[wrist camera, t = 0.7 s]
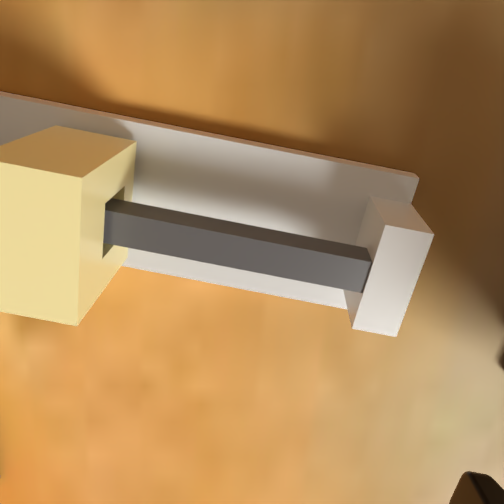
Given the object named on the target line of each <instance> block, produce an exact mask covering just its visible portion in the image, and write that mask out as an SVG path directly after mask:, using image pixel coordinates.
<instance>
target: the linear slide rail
mask: <svg viewBox="0 0 504 504" xmlns="http://www.w3.org/2000/svg"><path fill="white" fill-rule="evenodd" d="M55 125H57V126H62V127H68V128H73V129H78V130H83V131H88V132H93V133H98V134H103V135H108V136H113V137H118V138H123V139H128V140H134V141H137V145H136V157H135V170H134V183H133V195H132V202H129V201H124V200H119V199H114V198H111V199H110V200H109V201H107V202H106V203H105V218H104V236H103V243H106V244H111V245H116V246H122V247H127V248H128V258H127V259H126V260H125V262H124V263H123V264H122V266H126V267H131V268H136V269H141V270H146V271H151V272H157V273H162V274H167V275H172V276H177V277H182V278H188V279H193V280H198V281H203V282H208V283H214V284H219V285H224V286H229V287H234V288H239V289H245V290H250V291H255V292H260V293H265V294H270V295H276V296H281V297H286V298H291V299H296V300H301V301H307V302H312V303H317V304H322V305H327V306H333V307H338V308H343V309H348V313H349V318H350V322H351V326H352V329H357V330H362V331H368V332H373V333H378V334H383V335H388V336H394V337H396V336H397V333H398V331H399V328H400V325H401V323H402V320H403V317H404V315H405V312H406V309H407V307H408V304H409V301H410V299H411V296H412V293H413V291H414V288H415V285H416V283H417V280H418V277H419V275H420V272H421V269H422V267H423V264H424V261H425V259H426V256H427V253H428V250H429V248H430V245H431V242H432V240H433V237H434V233H433V232H432V231H431V229H430V228H429V227H428V225H427V224H426V223H425V221H424V220H423V219H422V217H421V216H420V215H419V214H418V212H417V211H416V210H415V208H414V207H413V206H412V204H411V203H412V200H413V197H414V194H415V191H416V188H417V185H418V182H419V179H420V178H419V177H418V176H417V175H416V174H415V173H411V172H406V171H401V170H396V169H391V168H386V167H381V166H376V165H371V164H366V163H361V162H356V161H351V160H346V159H341V158H336V157H331V156H326V155H320V154H315V153H310V152H305V151H300V150H295V149H290V148H285V147H280V146H275V145H270V144H265V143H260V142H255V141H250V140H245V139H240V138H235V137H229V136H224V135H219V134H214V133H209V132H204V131H199V130H194V129H189V128H184V127H179V126H174V125H169V124H164V123H159V122H154V121H149V120H144V119H139V118H133V117H128V116H123V115H118V114H113V113H108V112H103V111H98V110H93V109H88V108H83V107H78V106H73V105H68V104H63V103H58V102H53V101H48V100H42V99H37V98H32V97H27V96H22V95H17V94H12V93H7V92H2V91H0V146H1V145H3V144H6V143H9V142H12V141H14V140H17V139H20V138H23V137H25V136H28V135H31V134H33V133H36V132H39V131H42V130H44V129H47V128H50V127H52V126H55Z"/></svg>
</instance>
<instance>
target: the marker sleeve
mask: <svg viewBox="0 0 504 504" xmlns="http://www.w3.org/2000/svg"><path fill="white" fill-rule="evenodd" d="M136 145H137V141H134V140H128V139H123V138H118V137H113V136H108V135H103V134H98V133H93V132H88V131H83V130H78V129H73V128H68V127H62V126H57V125H55V126H52V127H50V128H47V129H44V130H42V131H39V132H36V133H33V134H31V135H28V136H25V137H23V138H20V139H17V140H14V141H12V142H9V143H6V144H3V145H1V146H0V312H5V313H11V314H16V315H21V316H26V317H31V318H37V319H42V320H47V321H52V322H58V323H63V324H68V325H73V326H78V324H79V323H80V322H81V320H82V319H83V318H84V316H85V315H86V313H87V312H88V311H89V309H90V308H91V307H92V305H93V304H94V303H95V301H96V300H97V298H98V297H99V296H100V294H101V293H102V292H103V290H104V289H105V288H106V286H107V285H108V283H109V282H110V281H111V279H112V278H113V277H114V275H115V274H116V273H117V271H118V270H119V268H120V267H121V266H122V264H123V263H124V262H125V260H126V259H127V258H128V248H127V247H122V246H116V245H111V244H106V243H103V236H104V218H105V203H106V202H107V201H109V200H110V199H111V198H114V199H119V200H124V201H129V202H132V195H133V183H134V170H135V157H136Z"/></svg>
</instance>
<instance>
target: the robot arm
mask: <svg viewBox="0 0 504 504" xmlns="http://www.w3.org/2000/svg"><path fill="white" fill-rule="evenodd" d="M449 504H504V490H503V489H502V488H501V486H500V485H499V484H498V483H497V482H496V481H495V480H494V479H493V478H491V477H490V476H489V475H486V474H481V473H476V472H470V471H467V472H465V473H464V474H463V475H462V476H461V478H460V480H459V483H458V485H457V487H456V489H455V491H454V493H453V495H452V497H451V500H450V503H449Z"/></svg>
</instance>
